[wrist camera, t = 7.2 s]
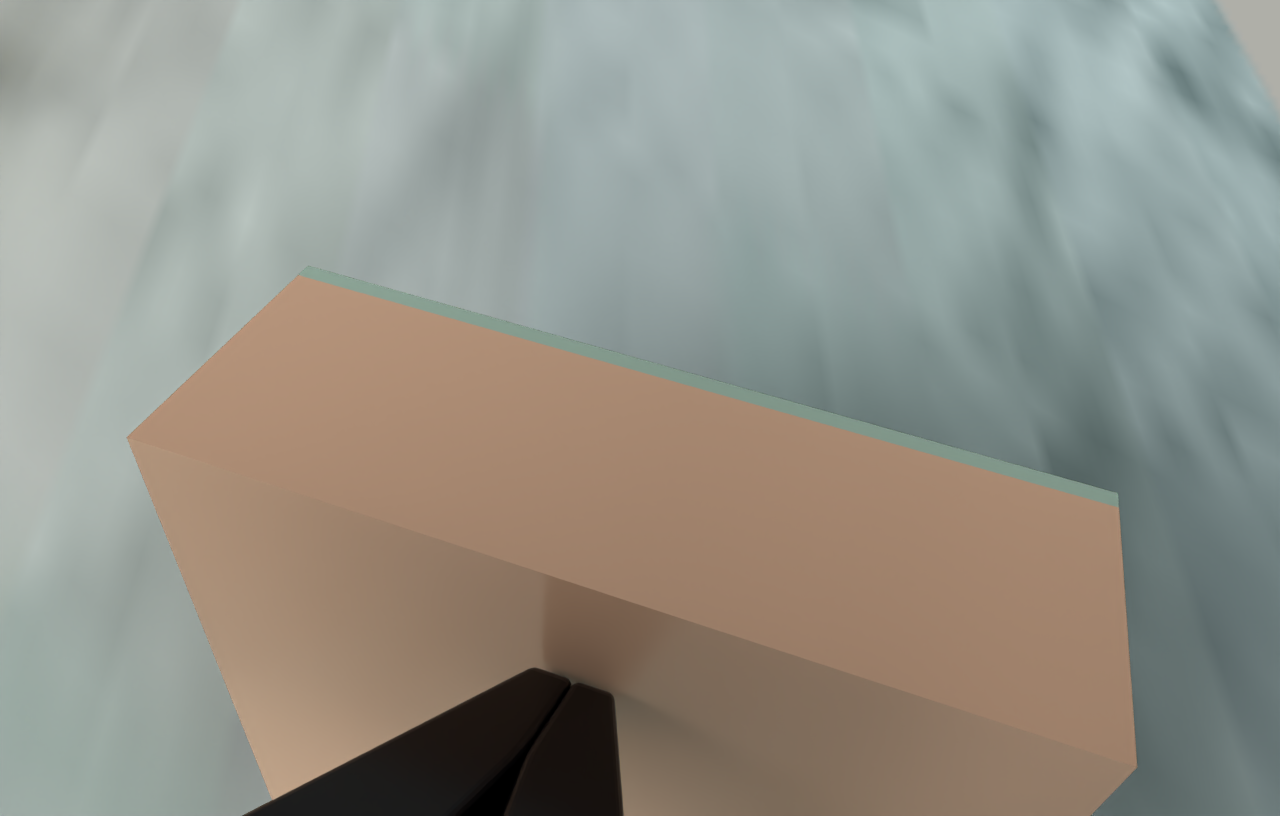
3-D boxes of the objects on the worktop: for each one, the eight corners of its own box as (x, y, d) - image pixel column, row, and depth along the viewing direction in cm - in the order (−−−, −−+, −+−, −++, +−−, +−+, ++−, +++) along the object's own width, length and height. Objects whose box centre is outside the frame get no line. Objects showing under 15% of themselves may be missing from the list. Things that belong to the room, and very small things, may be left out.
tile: (869, 1044, 13) (1138, 767, 7) (276, 812, 14) (126, 437, 9) (895, 831, 15) (1117, 493, 9) (377, 649, 16) (308, 265, 11)
